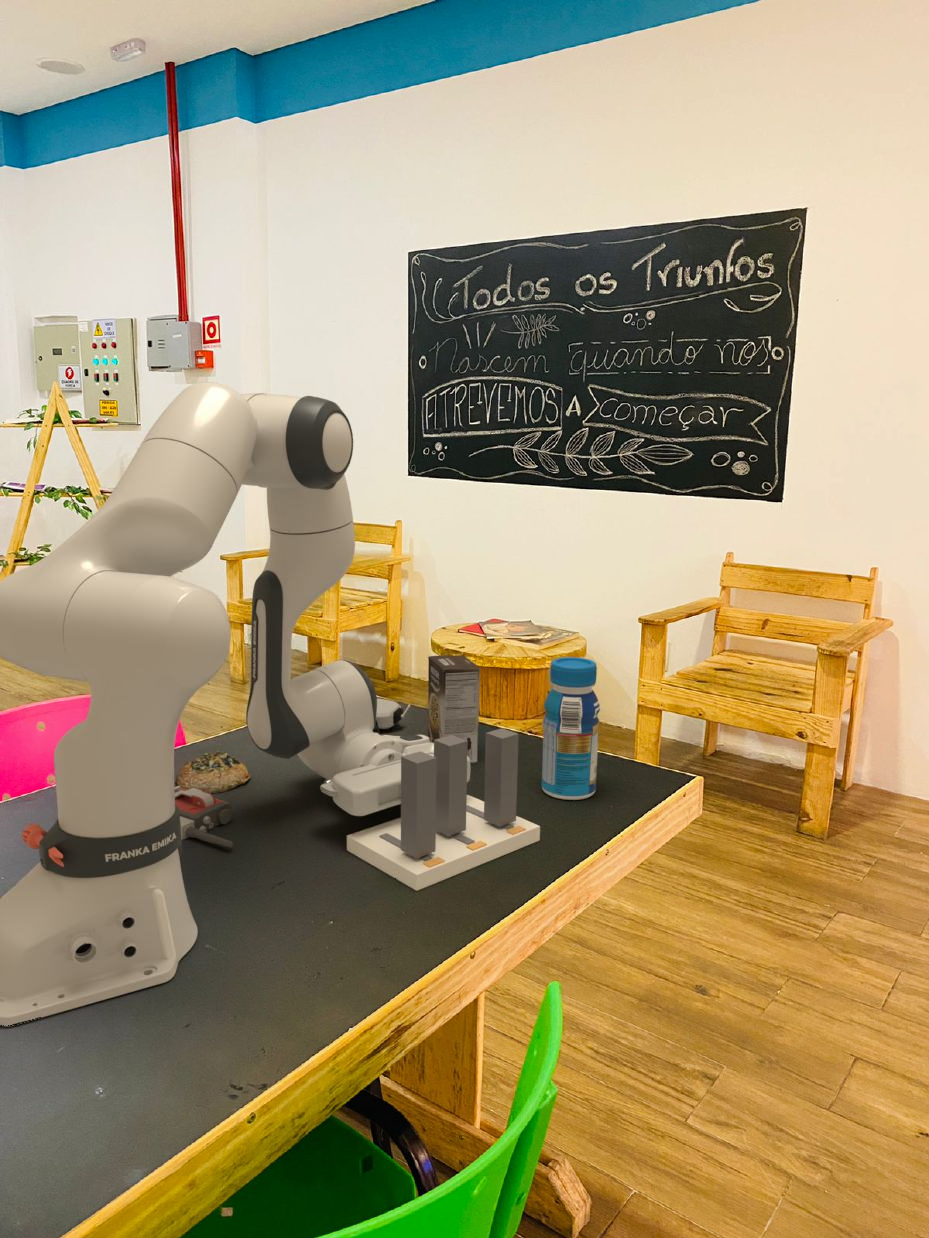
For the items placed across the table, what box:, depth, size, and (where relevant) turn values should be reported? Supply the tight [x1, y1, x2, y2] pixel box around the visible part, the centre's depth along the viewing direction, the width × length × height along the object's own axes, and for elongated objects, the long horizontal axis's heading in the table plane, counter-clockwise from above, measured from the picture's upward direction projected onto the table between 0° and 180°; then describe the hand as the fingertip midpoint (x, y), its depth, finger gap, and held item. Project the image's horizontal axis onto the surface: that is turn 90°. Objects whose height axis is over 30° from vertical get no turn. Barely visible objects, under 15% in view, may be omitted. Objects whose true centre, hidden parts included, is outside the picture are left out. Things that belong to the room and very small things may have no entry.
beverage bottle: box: [541, 656, 601, 801], centre depth 137 cm, size 8×8×20 cm
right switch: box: [483, 727, 520, 827], centre depth 120 cm, size 3×3×12 cm
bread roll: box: [175, 750, 252, 794], centre depth 140 cm, size 11×11×5 cm
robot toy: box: [373, 698, 411, 735], centre depth 164 cm, size 12×4×15 cm
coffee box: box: [427, 654, 481, 764], centre depth 152 cm, size 9×6×16 cm
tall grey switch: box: [400, 751, 437, 859], centre depth 111 cm, size 3×3×12 cm
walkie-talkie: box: [174, 785, 234, 849], centre depth 124 cm, size 9×4×20 cm
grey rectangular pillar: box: [434, 735, 468, 836], centre depth 117 cm, size 3×3×12 cm
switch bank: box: [346, 794, 541, 891], centre depth 119 cm, size 21×14×2 cm, turn 132°
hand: (441, 797), depth 119 cm, fingers closed, pressing on grey rectangular pillar
